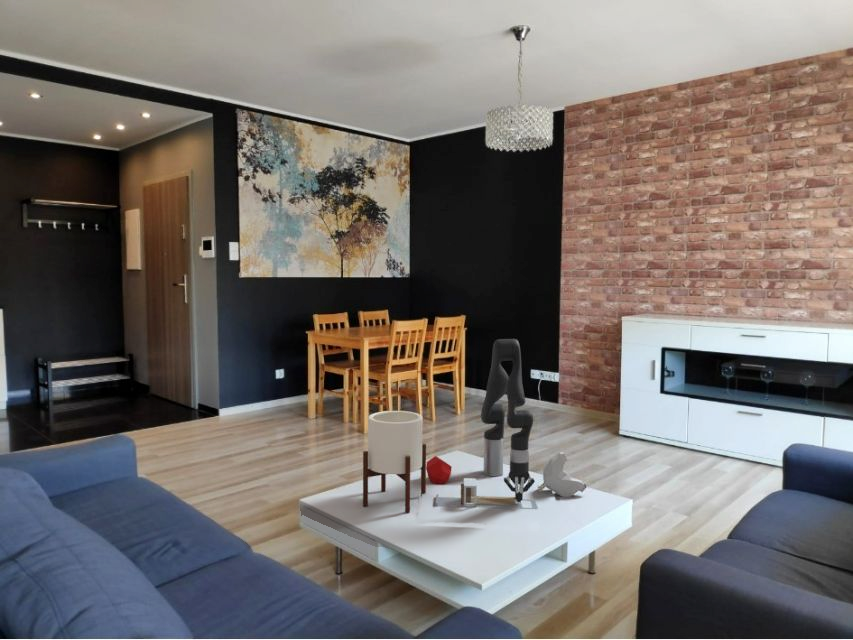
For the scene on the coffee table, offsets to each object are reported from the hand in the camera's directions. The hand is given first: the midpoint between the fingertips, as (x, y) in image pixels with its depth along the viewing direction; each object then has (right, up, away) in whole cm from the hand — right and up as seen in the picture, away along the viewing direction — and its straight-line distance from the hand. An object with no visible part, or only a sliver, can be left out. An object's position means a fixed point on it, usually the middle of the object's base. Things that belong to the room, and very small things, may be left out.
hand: (518, 501), depth 243 cm
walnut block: (-21, -1, +1) cm, 22 cm away
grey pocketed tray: (-14, -2, +1) cm, 14 cm away
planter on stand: (-51, -2, +6) cm, 51 cm away
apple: (-32, 0, +31) cm, 45 cm away
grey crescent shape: (+21, -2, +15) cm, 26 cm away
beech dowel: (-10, -1, 0) cm, 11 cm away
